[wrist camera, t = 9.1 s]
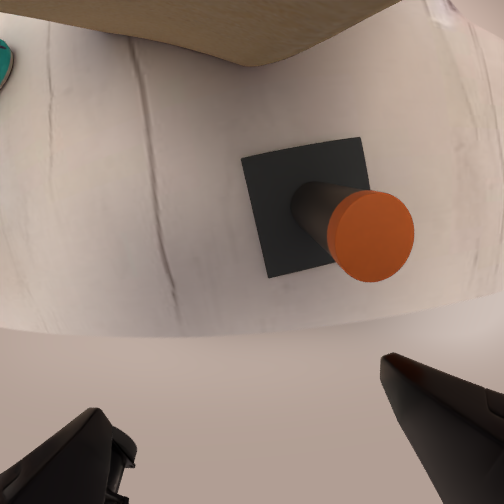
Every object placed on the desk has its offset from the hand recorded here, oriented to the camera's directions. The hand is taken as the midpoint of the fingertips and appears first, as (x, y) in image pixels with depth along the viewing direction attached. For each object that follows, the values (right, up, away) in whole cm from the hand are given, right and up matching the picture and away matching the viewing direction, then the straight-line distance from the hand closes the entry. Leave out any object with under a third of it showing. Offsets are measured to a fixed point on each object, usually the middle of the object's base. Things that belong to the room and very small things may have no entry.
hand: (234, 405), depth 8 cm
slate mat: (+5, +7, +11) cm, 14 cm away
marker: (+5, +7, +11) cm, 14 cm away
